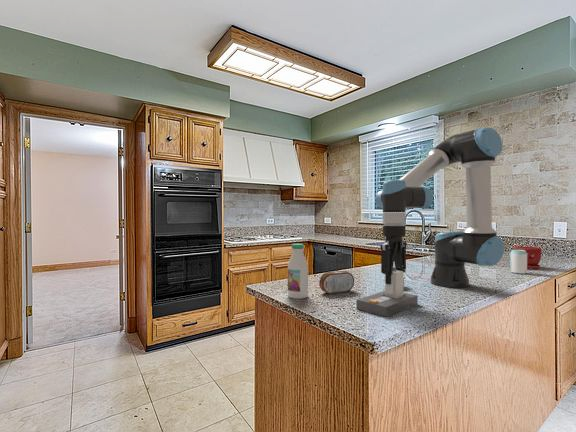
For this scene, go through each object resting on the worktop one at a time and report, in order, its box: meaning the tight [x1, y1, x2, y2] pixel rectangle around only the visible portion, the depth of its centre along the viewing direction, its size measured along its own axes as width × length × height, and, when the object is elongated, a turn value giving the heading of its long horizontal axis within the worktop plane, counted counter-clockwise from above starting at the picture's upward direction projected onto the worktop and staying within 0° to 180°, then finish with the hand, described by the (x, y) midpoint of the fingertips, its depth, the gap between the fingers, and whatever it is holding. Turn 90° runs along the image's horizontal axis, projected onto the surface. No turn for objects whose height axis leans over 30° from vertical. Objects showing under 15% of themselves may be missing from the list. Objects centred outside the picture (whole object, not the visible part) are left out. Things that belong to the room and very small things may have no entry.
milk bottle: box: [287, 243, 309, 300], centre depth 119 cm, size 8×8×20 cm
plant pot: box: [511, 246, 542, 270], centre depth 178 cm, size 13×13×12 cm
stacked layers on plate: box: [403, 273, 406, 288], centre depth 133 cm, size 10×9×6 cm
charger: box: [384, 266, 404, 299], centre depth 109 cm, size 4×4×10 cm
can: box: [509, 250, 528, 275], centre depth 163 cm, size 7×7×12 cm
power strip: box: [355, 290, 419, 318], centre depth 106 cm, size 20×11×4 cm, turn 131°
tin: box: [318, 270, 355, 295], centre depth 125 cm, size 15×3×8 cm, turn 113°
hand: (393, 291), depth 109 cm, fingers open, 5 cm apart
